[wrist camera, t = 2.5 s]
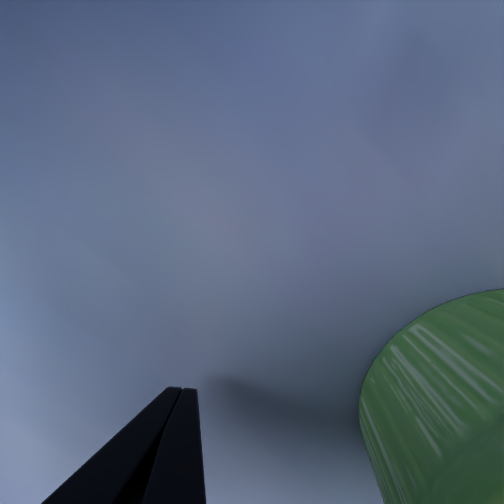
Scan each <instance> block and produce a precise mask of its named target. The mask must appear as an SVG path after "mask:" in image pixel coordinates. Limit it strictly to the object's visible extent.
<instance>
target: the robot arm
mask: <svg viewBox="0 0 504 504" xmlns="http://www.w3.org/2000/svg"><path fill="white" fill-rule="evenodd" d="M41 504H206V494H205V481H204V468H203V455H202V443H201V430H200V417H199V405H198V392H197V389H194V388H184V389H182V388H181V387H171V386H170V387H167V388H166V389H165V390H164V391H163V392H162V393H161V394H159V395H158V396H157V397H156V398H155V399H154V400H153V401H152V402H151V403H150V404H149V405H147V406H146V407H145V408H144V409H143V410H142V411H141V412H140V413H139V414H138V415H137V416H136V417H134V418H133V419H132V420H131V421H130V422H129V423H128V424H127V425H126V426H125V427H124V428H123V429H121V430H120V431H119V432H118V433H117V434H116V435H115V436H114V437H113V438H112V439H111V440H109V441H108V442H107V443H106V444H105V445H104V446H103V447H102V448H101V449H100V450H99V451H98V452H96V453H95V454H94V455H93V456H92V457H91V458H90V459H89V460H88V461H87V462H86V463H85V464H83V465H82V466H81V467H80V468H79V469H78V470H77V471H76V472H75V473H74V474H73V475H72V476H70V477H69V478H68V479H67V480H66V481H65V482H64V483H63V484H62V485H61V486H60V487H58V488H57V489H56V490H55V491H54V492H53V493H52V494H51V495H50V496H49V497H48V498H47V499H45V500H44V501H43V502H42V503H41Z"/></svg>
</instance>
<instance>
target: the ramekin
mask: <svg viewBox="0 0 504 504" xmlns="http://www.w3.org/2000/svg"><path fill="white" fill-rule="evenodd" d="M359 423H360V428H361V434H362V438H363V441H364V444H365V447H366V450H367V453H368V456H369V459H370V462H371V465H372V468H373V471H374V474H375V477H376V480H377V483H378V485H379V488H380V491H381V494H382V497H383V500H384V503H385V504H504V289H499V290H488V291H484V292H480V293H474V294H471V295H467V296H463V297H460V298H457V299H454V300H451V301H449V302H446V303H444V304H441V305H439V306H437V307H435V308H433V309H431V310H429V311H427V312H425V313H424V314H422V315H420V316H419V317H417V318H416V319H415V320H413V321H412V322H410V323H409V324H408V325H407V326H405V327H404V328H403V329H402V330H400V331H399V332H398V333H396V334H395V335H394V336H393V338H392V339H391V340H390V341H389V342H388V343H387V344H386V345H385V347H384V348H383V349H382V350H381V352H380V353H379V354H378V356H377V357H376V358H375V360H374V361H373V363H372V365H371V367H370V369H369V371H368V372H367V375H366V377H365V379H364V382H363V385H362V388H361V393H360V399H359Z"/></svg>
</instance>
